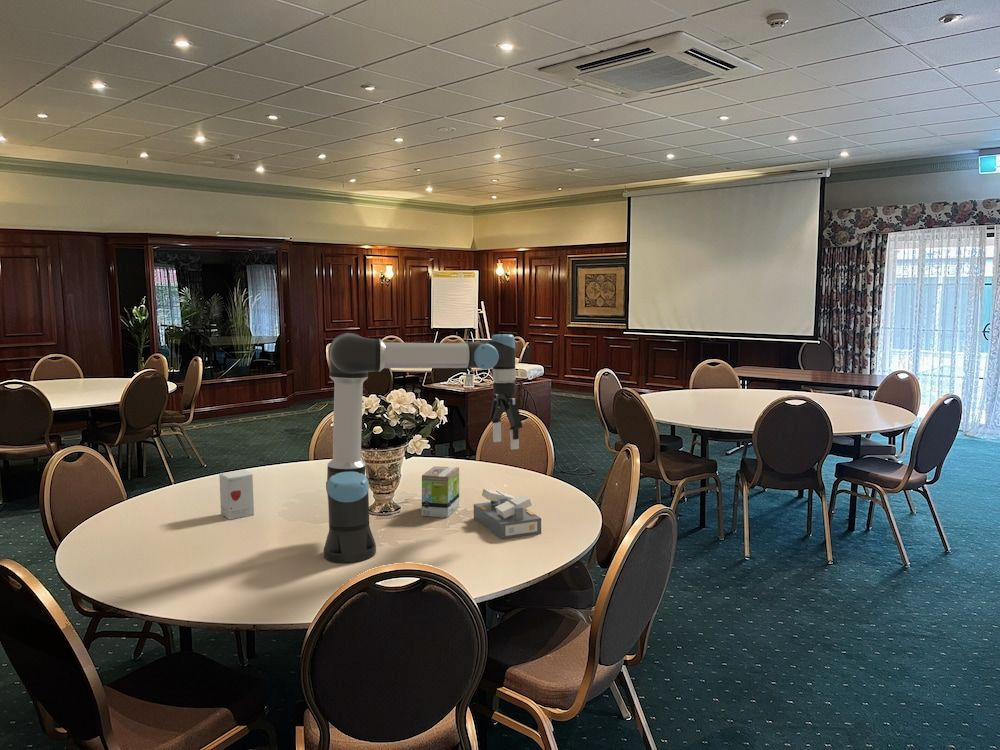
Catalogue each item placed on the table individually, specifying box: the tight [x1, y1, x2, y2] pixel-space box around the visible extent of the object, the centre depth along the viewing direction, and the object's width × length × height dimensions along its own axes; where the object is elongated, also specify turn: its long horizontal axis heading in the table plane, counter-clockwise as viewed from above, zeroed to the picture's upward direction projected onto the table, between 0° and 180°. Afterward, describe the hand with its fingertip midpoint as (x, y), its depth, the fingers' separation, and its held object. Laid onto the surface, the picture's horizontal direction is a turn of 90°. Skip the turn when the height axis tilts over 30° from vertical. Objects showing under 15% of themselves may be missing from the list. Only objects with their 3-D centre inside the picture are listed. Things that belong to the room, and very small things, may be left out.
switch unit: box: [473, 498, 542, 540], centre depth 230 cm, size 14×24×9 cm, turn 23°
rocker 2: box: [495, 493, 533, 518], centre depth 224 cm, size 10×6×3 cm, turn 113°
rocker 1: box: [481, 488, 516, 502], centre depth 235 cm, size 10×6×2 cm, turn 113°
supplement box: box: [218, 469, 255, 520], centre depth 245 cm, size 9×9×15 cm
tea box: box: [421, 465, 460, 518], centre depth 247 cm, size 15×10×15 cm, turn 168°
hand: (505, 445), depth 229 cm, fingers open, 13 cm apart
